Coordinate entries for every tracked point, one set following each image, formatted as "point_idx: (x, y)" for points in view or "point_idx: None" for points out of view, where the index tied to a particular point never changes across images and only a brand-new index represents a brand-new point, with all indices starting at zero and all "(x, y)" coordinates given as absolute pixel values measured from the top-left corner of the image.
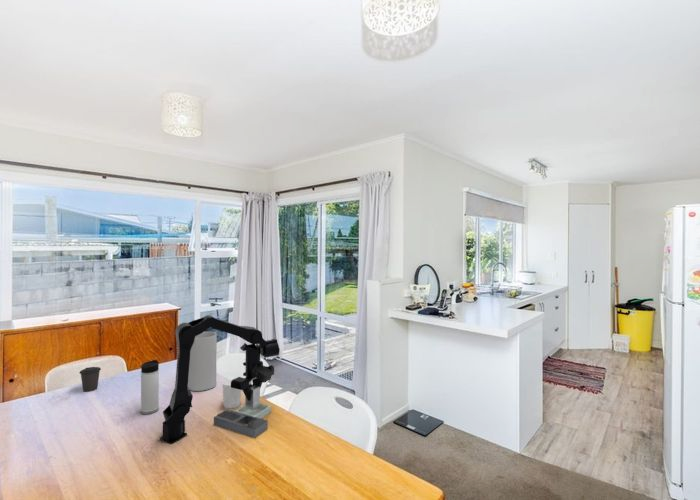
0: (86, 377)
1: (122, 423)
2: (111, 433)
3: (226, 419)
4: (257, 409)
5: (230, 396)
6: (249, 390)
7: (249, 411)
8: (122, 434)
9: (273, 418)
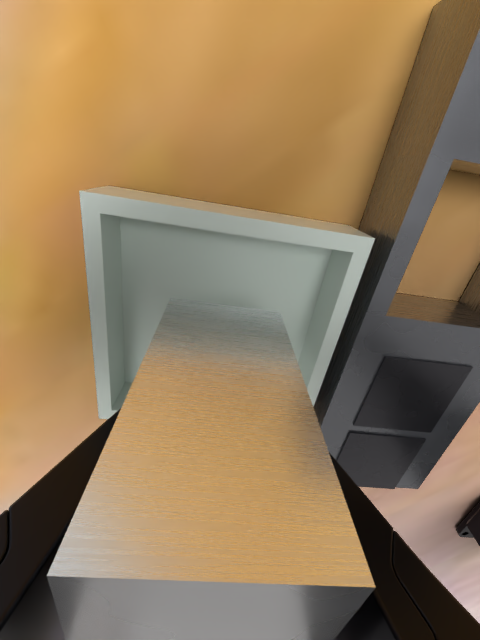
0: None
1: None
2: None
3: (453, 415)
4: (141, 322)
5: None
6: (469, 637)
7: None
8: (468, 606)
9: (205, 74)
